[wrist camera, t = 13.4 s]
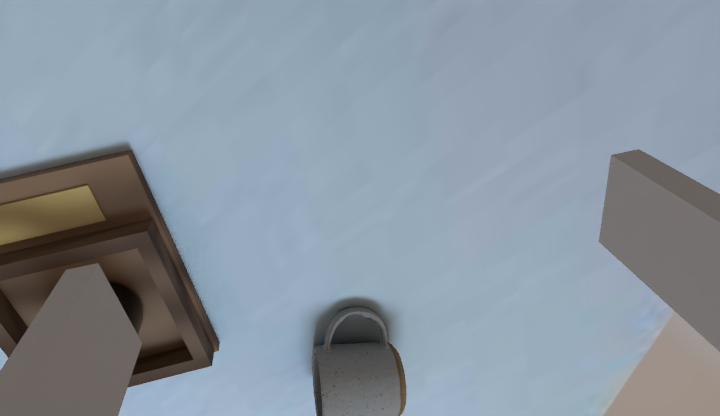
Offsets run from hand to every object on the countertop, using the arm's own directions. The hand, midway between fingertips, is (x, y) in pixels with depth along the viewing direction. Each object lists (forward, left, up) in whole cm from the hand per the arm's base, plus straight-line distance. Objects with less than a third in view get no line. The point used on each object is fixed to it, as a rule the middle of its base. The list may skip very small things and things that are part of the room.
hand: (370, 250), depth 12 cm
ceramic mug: (+28, -2, -25) cm, 37 cm away
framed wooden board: (+13, -22, -25) cm, 35 cm away
